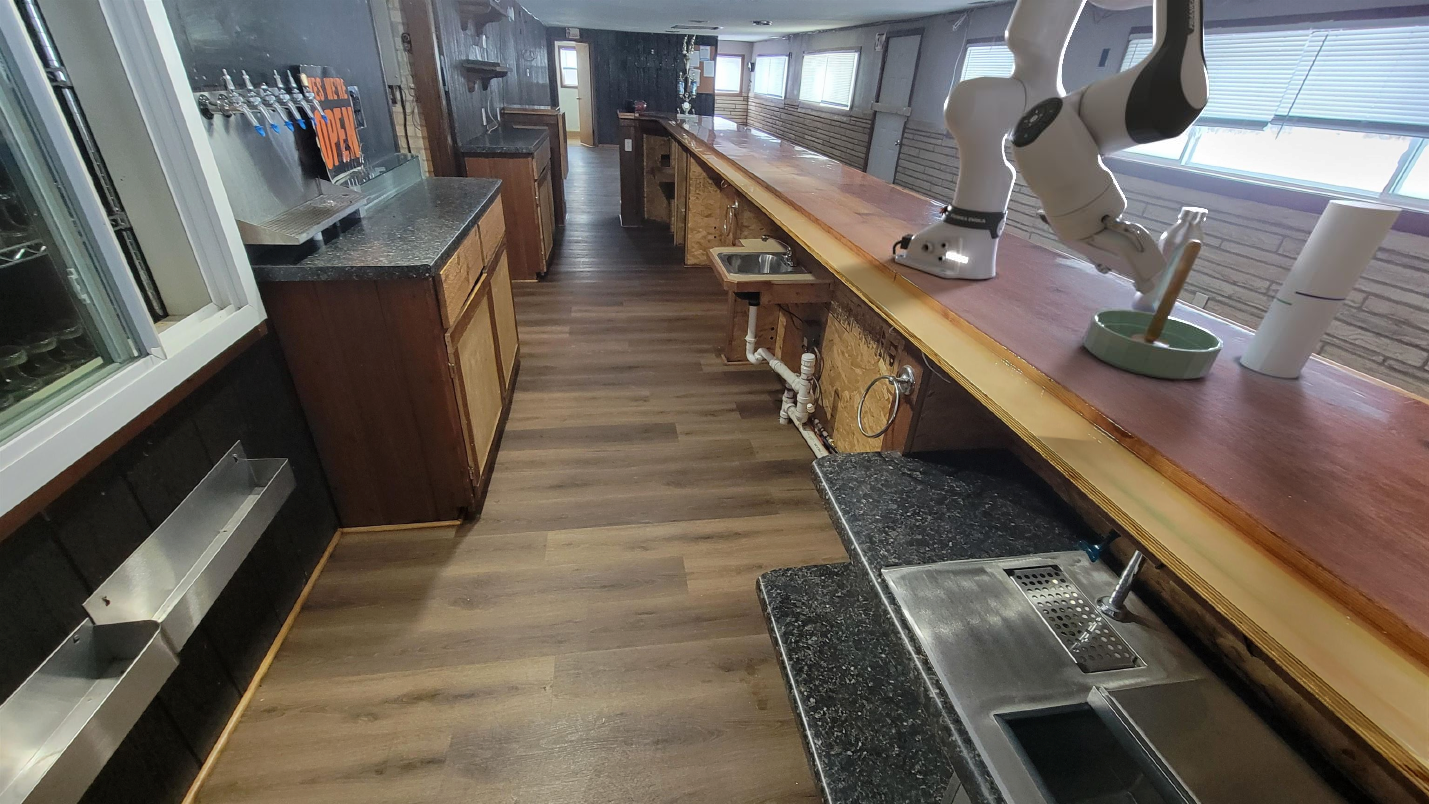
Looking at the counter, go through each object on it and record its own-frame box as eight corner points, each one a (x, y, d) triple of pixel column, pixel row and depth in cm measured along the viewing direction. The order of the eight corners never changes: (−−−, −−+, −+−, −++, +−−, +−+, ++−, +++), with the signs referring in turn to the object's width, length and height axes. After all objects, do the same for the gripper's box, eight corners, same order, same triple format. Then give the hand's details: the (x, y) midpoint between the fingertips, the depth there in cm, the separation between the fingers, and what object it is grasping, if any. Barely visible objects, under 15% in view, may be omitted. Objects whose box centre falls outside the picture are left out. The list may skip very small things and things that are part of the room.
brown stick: (1121, 353, 91) (1171, 239, 82) (1129, 344, 94) (1178, 234, 85) (1159, 364, 88) (1215, 247, 79) (1166, 355, 91) (1221, 241, 82)
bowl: (1067, 354, 91) (1078, 325, 89) (1097, 328, 102) (1108, 302, 99) (1197, 393, 81) (1213, 362, 78) (1215, 360, 92) (1230, 331, 89)
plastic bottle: (1154, 311, 111) (1201, 206, 102) (1174, 324, 106) (1227, 214, 96) (1120, 309, 112) (1164, 204, 102) (1139, 321, 106) (1188, 211, 96)
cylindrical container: (1285, 381, 86) (1390, 211, 73) (1231, 362, 91) (1320, 201, 79) (1306, 373, 89) (1411, 208, 76) (1252, 355, 94) (1342, 199, 82)
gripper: (1157, 209, 70) (1198, 288, 75) (1068, 182, 88) (1105, 248, 93) (1108, 243, 72) (1150, 318, 77) (1030, 211, 90) (1069, 273, 95)
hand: (1125, 279), depth 85 cm, fingers open, 8 cm apart
